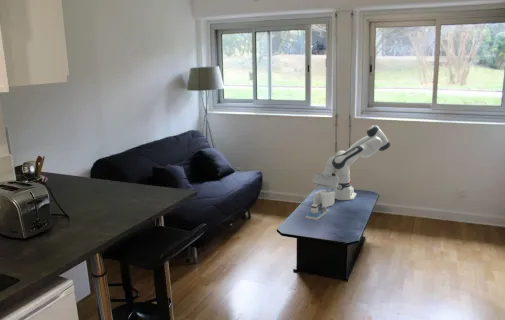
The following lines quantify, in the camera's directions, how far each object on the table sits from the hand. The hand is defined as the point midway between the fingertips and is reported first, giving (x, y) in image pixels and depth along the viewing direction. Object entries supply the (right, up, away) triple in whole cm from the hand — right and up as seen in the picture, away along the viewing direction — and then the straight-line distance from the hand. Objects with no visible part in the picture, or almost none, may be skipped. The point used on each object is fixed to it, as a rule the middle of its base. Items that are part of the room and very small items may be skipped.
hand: (322, 190), depth 345 cm
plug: (-7, -18, -6) cm, 20 cm away
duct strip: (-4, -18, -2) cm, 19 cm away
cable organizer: (+4, -13, +17) cm, 22 cm away
